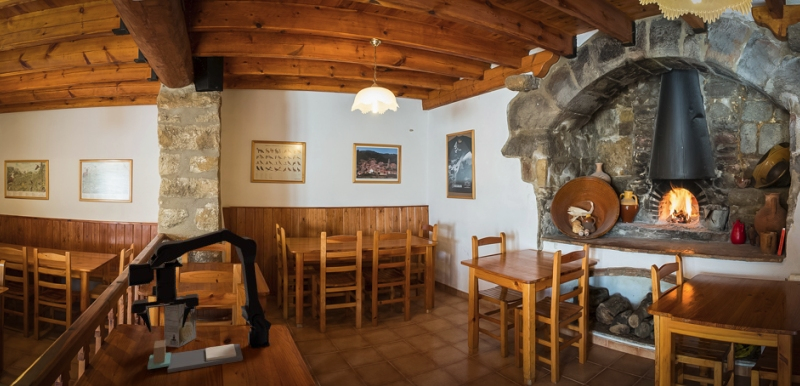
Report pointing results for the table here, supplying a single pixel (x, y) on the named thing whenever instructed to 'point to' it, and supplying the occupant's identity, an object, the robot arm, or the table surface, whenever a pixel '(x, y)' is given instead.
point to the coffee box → (178, 325)
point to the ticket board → (205, 357)
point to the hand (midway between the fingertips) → (166, 329)
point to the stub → (159, 356)
